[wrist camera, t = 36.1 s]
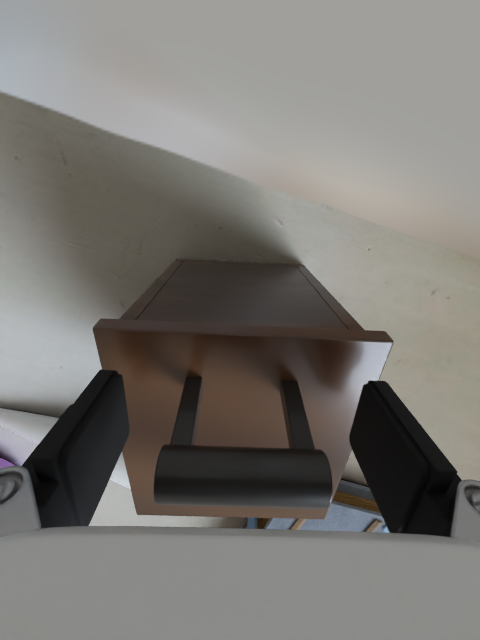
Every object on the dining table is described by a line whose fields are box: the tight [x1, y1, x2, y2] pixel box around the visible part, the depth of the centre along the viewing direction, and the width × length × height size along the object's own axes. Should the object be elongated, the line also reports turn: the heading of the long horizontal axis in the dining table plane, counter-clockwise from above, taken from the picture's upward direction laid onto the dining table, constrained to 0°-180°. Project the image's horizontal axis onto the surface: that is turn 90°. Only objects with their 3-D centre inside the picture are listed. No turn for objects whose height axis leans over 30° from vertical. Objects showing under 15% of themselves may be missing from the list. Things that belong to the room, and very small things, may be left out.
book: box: [245, 480, 390, 533], centre depth 39 cm, size 21×16×5 cm
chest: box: [120, 259, 364, 330], centre depth 22 cm, size 13×12×14 cm
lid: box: [93, 319, 393, 519], centre depth 13 cm, size 13×12×6 cm
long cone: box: [0, 408, 131, 490], centre depth 31 cm, size 6×6×19 cm
